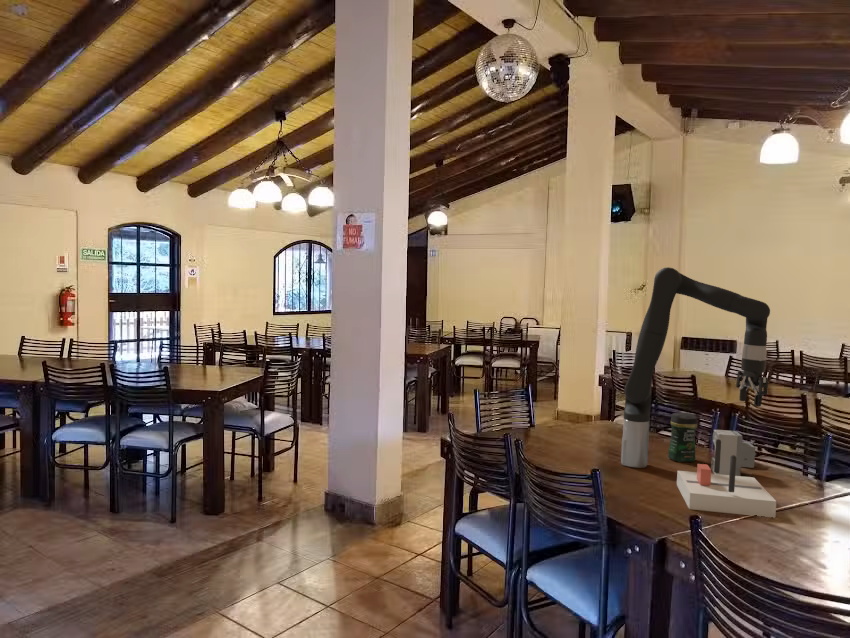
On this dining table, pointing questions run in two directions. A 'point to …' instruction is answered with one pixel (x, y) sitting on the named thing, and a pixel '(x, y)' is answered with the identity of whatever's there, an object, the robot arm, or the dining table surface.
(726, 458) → the circuit breaker
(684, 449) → the coffee jar
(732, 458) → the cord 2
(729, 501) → the board
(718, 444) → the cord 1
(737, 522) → the dining table surface
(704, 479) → the block
